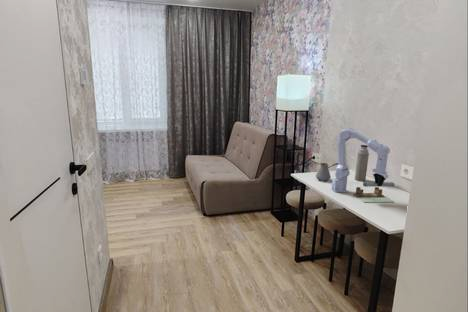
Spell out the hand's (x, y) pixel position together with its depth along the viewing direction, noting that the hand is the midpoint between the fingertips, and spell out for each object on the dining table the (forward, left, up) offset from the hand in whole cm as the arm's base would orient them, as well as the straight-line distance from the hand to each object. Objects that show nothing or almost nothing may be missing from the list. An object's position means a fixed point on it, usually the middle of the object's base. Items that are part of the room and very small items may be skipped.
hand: (378, 185), depth 189 cm
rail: (0, 0, 0) cm, 0 cm away
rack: (-1, +8, -10) cm, 13 cm away
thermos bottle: (+10, +43, -10) cm, 45 cm away
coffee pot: (-15, +44, -10) cm, 48 cm away
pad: (0, 0, -10) cm, 10 cm away
